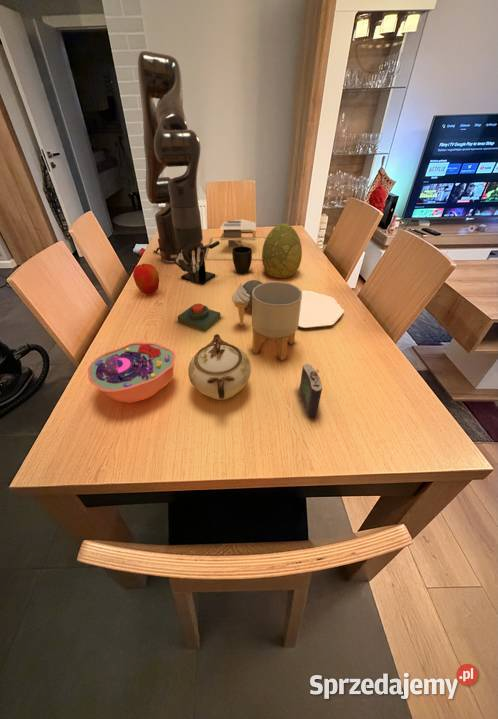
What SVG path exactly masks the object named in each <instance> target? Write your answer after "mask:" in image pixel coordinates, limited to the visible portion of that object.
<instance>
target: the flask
mask: <svg viewBox="0 0 498 719" xmlns="http://www.w3.org/2000/svg"><path fill="white" fill-rule="evenodd" d="M318 373H320V370H319V369H318V368H317V369H315V368H314V367H313V365H311V364H309V363H305V364H303V365H302V370H301V377H300V383H299V389H298V394H299V397H300V398H301V403H302V405H304V407H303V408H304V409H305V413H306V416H307V417H309V418H310V419H315V418H317V417H318V411H319V406H320V401H321V397H322V396H321V395H322V393H323V392H322V391H323V385H322V382H321V378H320V375H318Z"/></svg>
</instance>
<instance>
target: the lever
mask: <svg viewBox="0 0 498 719" xmlns="http://www.w3.org/2000/svg"><path fill="white" fill-rule="evenodd" d="M219 244H220V243H219V241H217V242H215V243H213V244H211V243H210V244H203V246H205V247H207V249H209V248H210V249H212V248H214V247H216V246H218V245H219Z"/></svg>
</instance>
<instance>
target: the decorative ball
mask: <svg viewBox="0 0 498 719" xmlns="http://www.w3.org/2000/svg"><path fill="white" fill-rule="evenodd" d="M262 283H263V282H262V281H260V280H257V279H252V280H251V279H250V280H247V281H246V282H245V283H244V284H242V286H243V288H244V289H245V290H246V291H247V292H246V293H247V294H249V295H250V297H249V299H250V300H249V302H248V305H247V306H246V307H245V309H246V308H247V309H249V310H252V291H253V289H254V288H255V287H256V286H258V285H259V284H262Z"/></svg>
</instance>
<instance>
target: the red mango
mask: <svg viewBox="0 0 498 719" xmlns="http://www.w3.org/2000/svg"><path fill="white" fill-rule="evenodd" d="M132 277H133V280H134V283H135V285H136V287H137V288H138V290H139V292H140V293H142V294H144V295H146V296H152V295H153V294H155V293H156V292H157V291H158V290H159V288H160V274H159V272H158V270H157V268H156V267H155V266H154V265H153V264H150V263H144V262H142V263H141V264H138V265H135V267H134V269H133V271H132Z"/></svg>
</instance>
